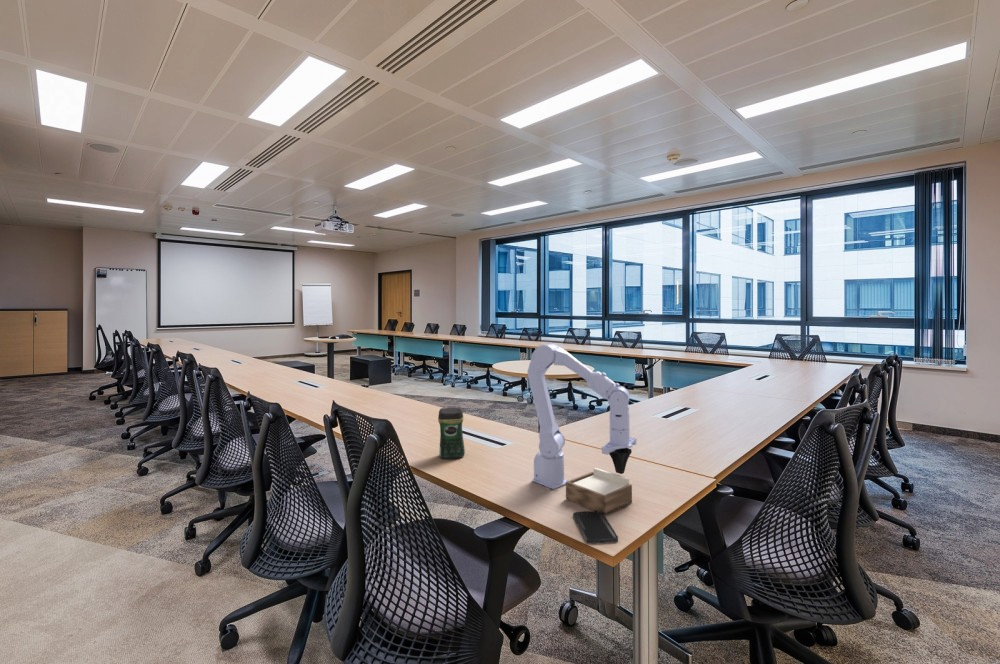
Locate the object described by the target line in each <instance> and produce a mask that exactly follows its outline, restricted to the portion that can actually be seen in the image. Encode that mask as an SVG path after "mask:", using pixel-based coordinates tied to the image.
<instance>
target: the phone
mask: <svg viewBox="0 0 1000 664" xmlns="http://www.w3.org/2000/svg"><path fill="white" fill-rule="evenodd" d="M572 514H573V515H572V516H573V519H574V521H575V523H576V525H577V527H578V530H579V531H580V534H581V535H582V538H583V539H584V541H585V543H587V544H589V545H590V544H592V545H595V544H596V545H597V544H610V543H611V544H612V543H615V544H616V543H618V542H619V536H618V535H617V533H616V531H614V529H613V527H612V526H611V524H610V522H609V521H608V519H607V518H606V515H604V514H603V513H602V512H601V511H594V510H588V511H587V510H586V511H585V510H584V511H575V512H573V513H572Z"/></svg>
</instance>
